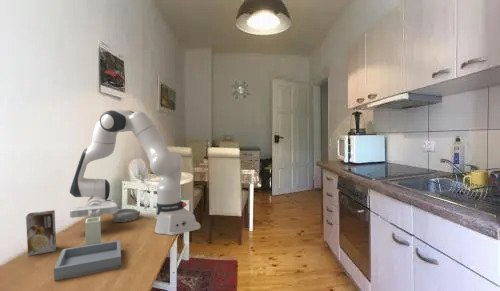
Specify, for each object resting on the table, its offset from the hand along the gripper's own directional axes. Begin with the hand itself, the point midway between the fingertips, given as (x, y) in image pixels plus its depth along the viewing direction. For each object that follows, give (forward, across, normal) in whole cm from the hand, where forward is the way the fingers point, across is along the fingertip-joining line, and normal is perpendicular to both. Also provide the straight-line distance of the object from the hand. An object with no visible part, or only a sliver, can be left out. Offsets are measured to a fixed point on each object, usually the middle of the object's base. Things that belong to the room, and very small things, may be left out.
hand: (93, 214), depth 130 cm
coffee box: (+6, -18, +12) cm, 23 cm away
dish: (-27, +15, +12) cm, 33 cm away
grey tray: (+29, 0, +11) cm, 31 cm away
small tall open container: (+12, +1, +11) cm, 17 cm away
